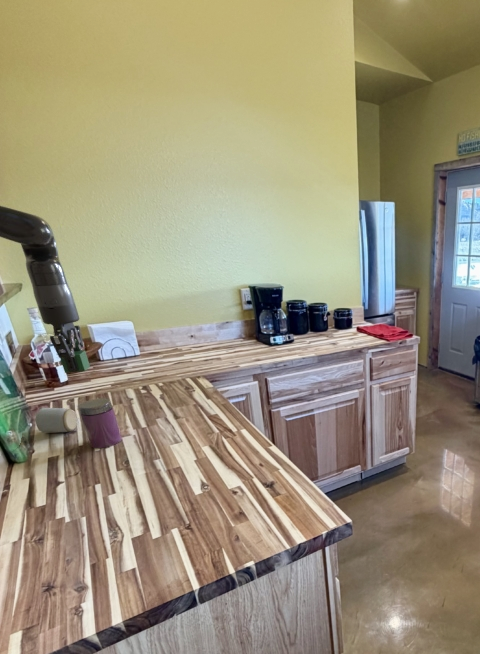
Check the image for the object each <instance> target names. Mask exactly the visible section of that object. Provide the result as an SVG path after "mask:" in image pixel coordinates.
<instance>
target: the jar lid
mask: <svg viewBox="0 0 480 654" xmlns="http://www.w3.org/2000/svg"><path fill="white" fill-rule="evenodd" d="M112 407H113V404H112V403H111V400H110V399H109V398H94V399H90V400H89V399H88V400H85V401H84V402H80V403H79V404H78V411H79V414H80V413H81V414H83V415H94V414H100V413H103V412H106V411H108V410H110V409H111V408H112Z"/></svg>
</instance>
